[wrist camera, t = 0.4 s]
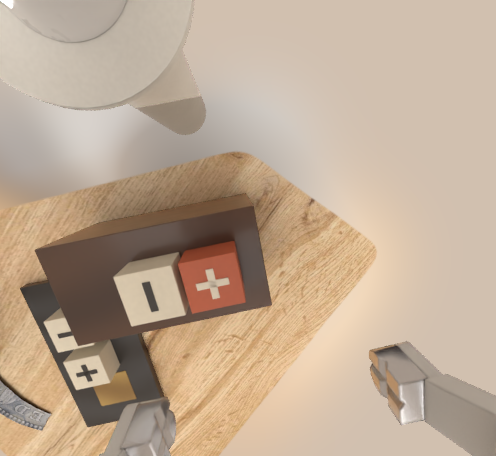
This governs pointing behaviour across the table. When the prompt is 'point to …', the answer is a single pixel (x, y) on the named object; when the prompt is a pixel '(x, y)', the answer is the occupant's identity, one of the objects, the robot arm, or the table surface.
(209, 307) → the red plus sign cube
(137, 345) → the dark grey board
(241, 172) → the table surface
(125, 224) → the dark brown block stand
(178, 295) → the slotted cream cube
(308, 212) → the table surface
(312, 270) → the table surface
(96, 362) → the cream math cube
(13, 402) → the coin fragment
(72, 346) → the minus sign block
